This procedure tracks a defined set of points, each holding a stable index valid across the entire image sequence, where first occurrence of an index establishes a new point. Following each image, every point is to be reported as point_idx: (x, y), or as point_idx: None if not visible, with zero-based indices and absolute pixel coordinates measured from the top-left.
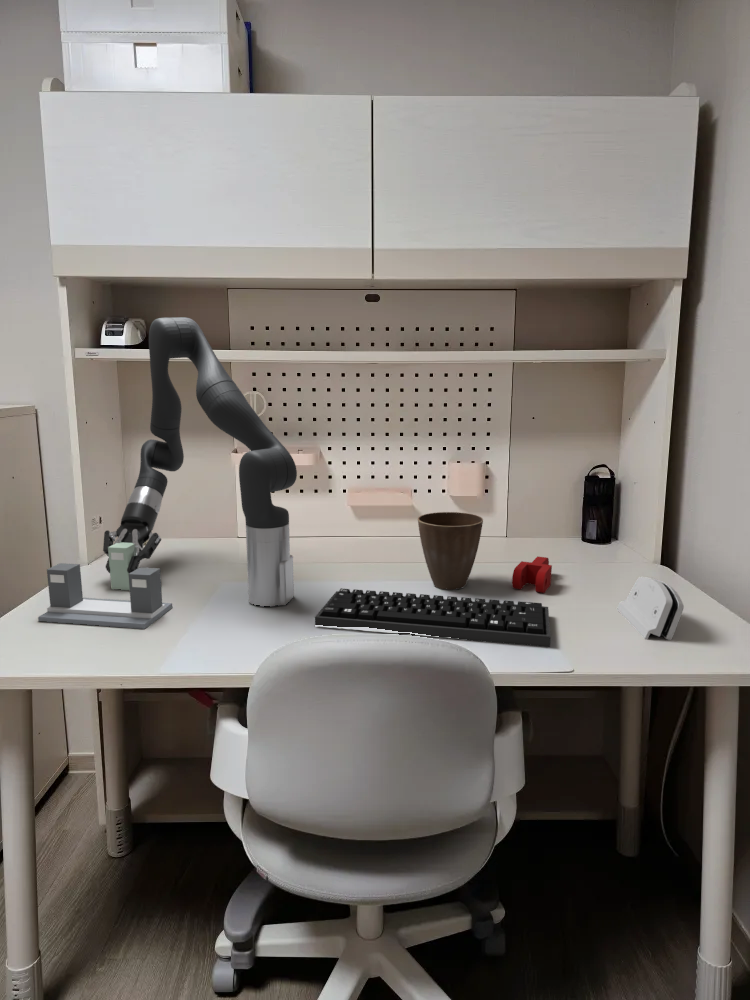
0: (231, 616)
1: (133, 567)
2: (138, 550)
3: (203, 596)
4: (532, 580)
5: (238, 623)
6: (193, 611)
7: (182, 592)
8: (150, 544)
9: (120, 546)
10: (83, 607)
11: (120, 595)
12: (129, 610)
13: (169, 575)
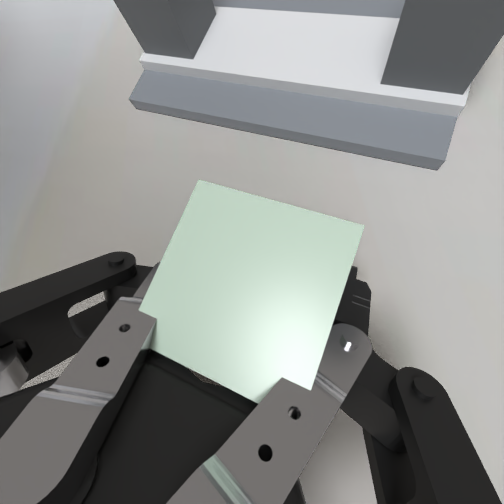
0: (36, 64)
1: None
2: (144, 283)
3: (60, 180)
4: None
5: (34, 35)
6: (96, 87)
7: (104, 218)
8: (35, 283)
9: (251, 239)
10: (357, 32)
11: None
12: (221, 21)
13: None
